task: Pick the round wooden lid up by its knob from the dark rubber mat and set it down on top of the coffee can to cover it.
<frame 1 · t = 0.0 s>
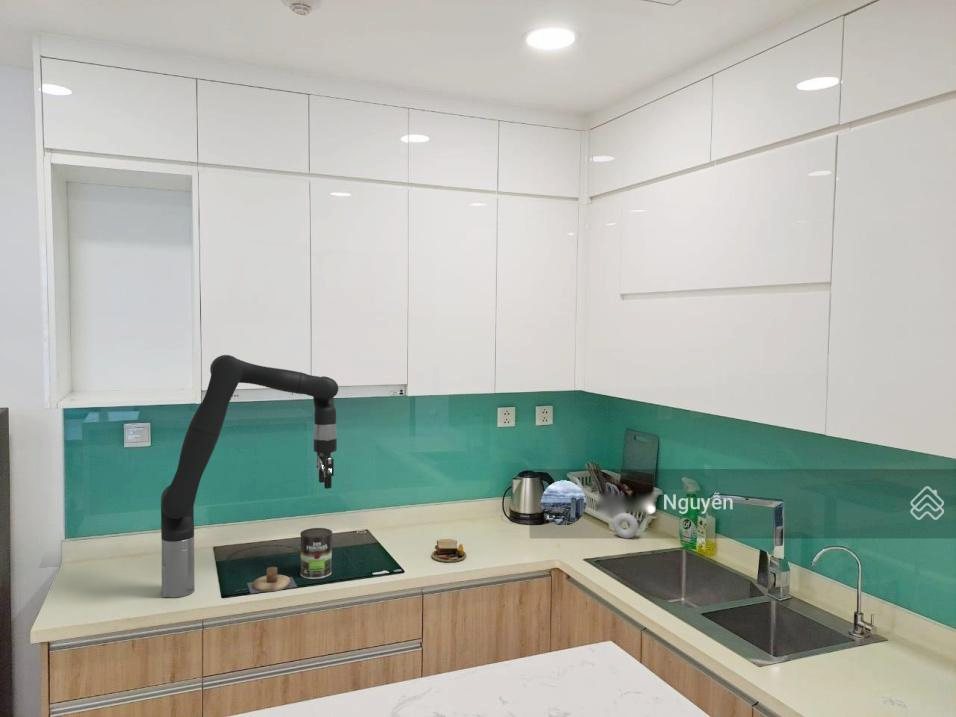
hand: (324, 485, 229), 29 cm above the countertop, tool pointing down, fingers open, 8 cm apart
toy sandwich meal: (447, 557, 248), on the countertop
mat: (271, 585, 218), on the countertop
coffee can: (316, 574, 229), on the countertop
donut: (625, 538, 273), on the countertop
lid: (271, 584, 218), resting on mat
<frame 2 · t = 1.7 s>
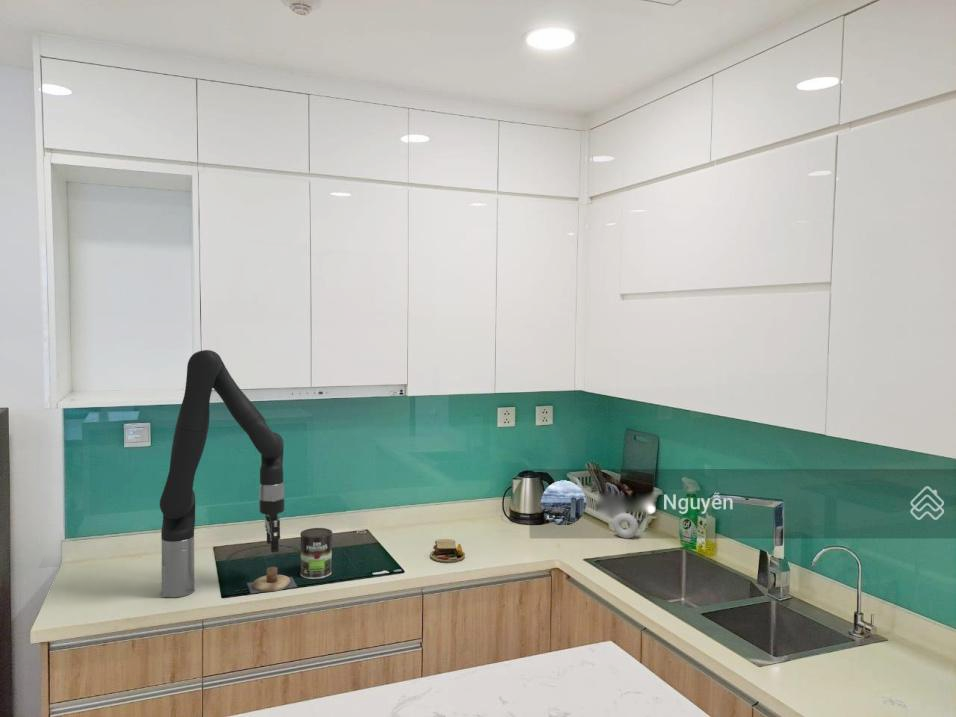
hand: (272, 547, 217), 12 cm above the countertop, tool pointing down, fingers open, 8 cm apart
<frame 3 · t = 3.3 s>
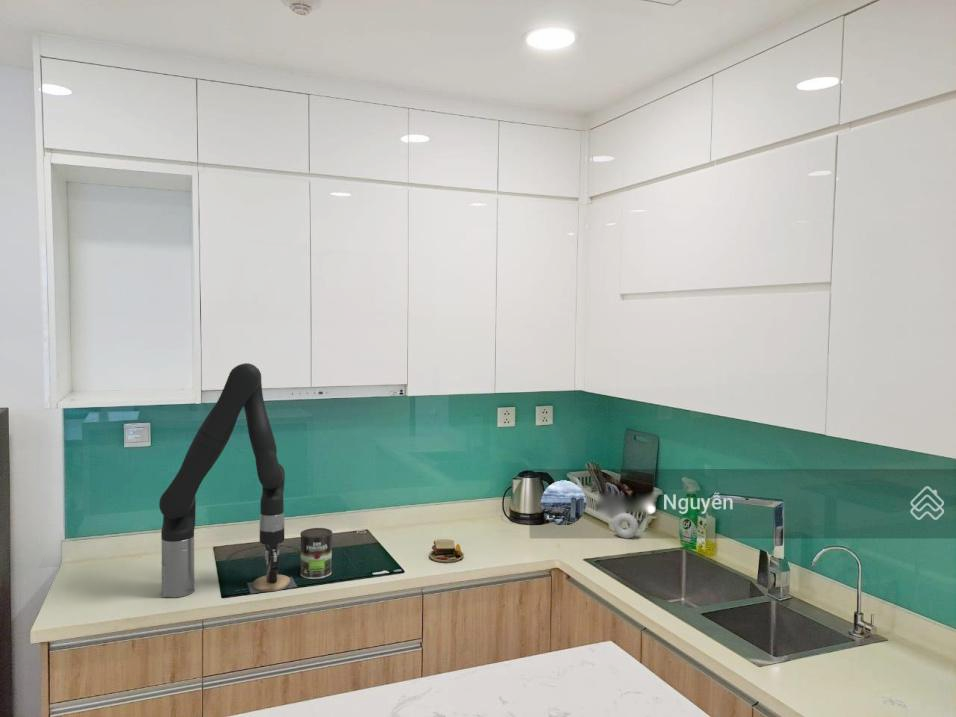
hand: (272, 580, 218), 2 cm above the countertop, tool pointing down, fingers closed on lid, 3 cm apart
lid: (271, 584, 218), resting on mat, touching gripper
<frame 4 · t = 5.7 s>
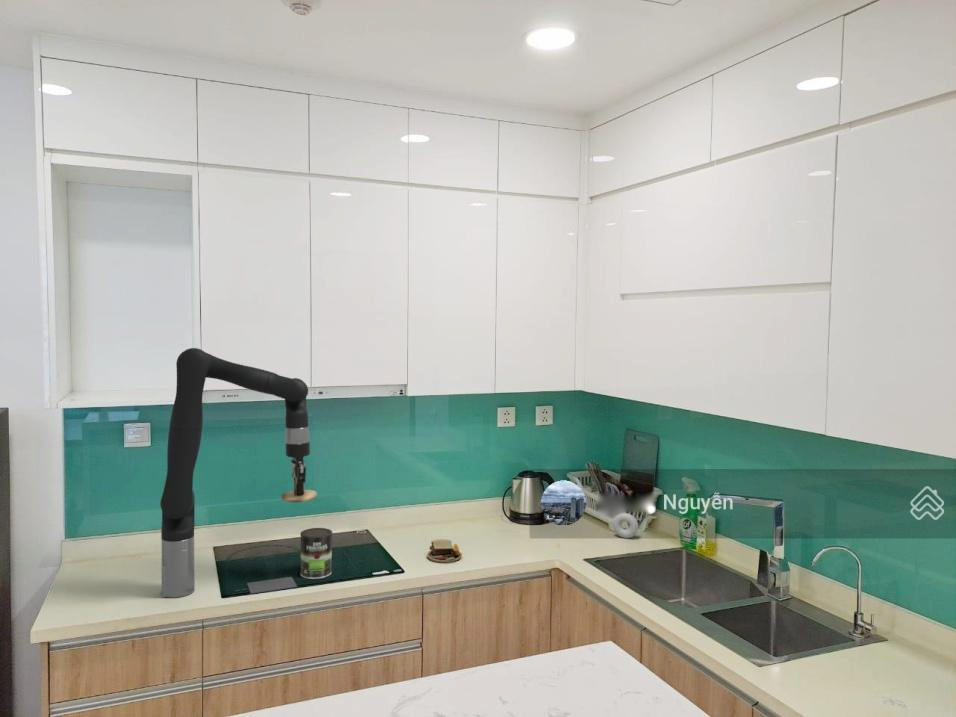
hand: (299, 493, 222), 28 cm above the countertop, tool pointing down, fingers closed on lid, 3 cm apart
lid: (299, 497, 222), point 27 cm above the countertop, touching gripper
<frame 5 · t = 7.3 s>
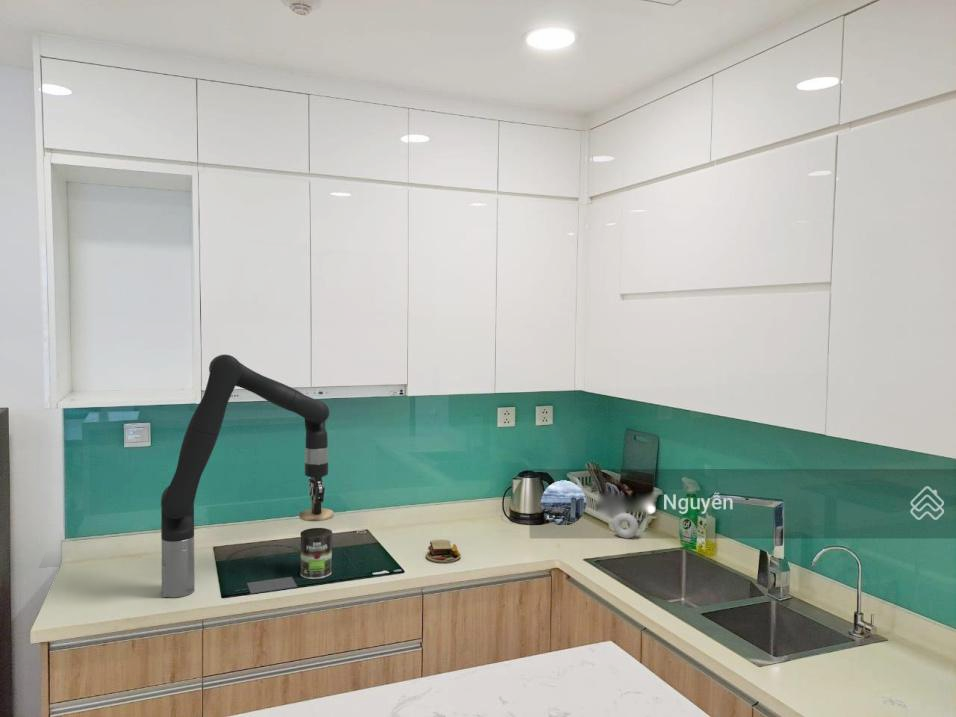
hand: (316, 512, 227), 21 cm above the countertop, tool pointing down, fingers closed on lid, 3 cm apart
lid: (316, 516, 228), point 19 cm above the countertop, touching gripper
when the fingers open (17 cm above the countertop, at t = 8.3 s): lid drops 1 cm, resting on coffee can.
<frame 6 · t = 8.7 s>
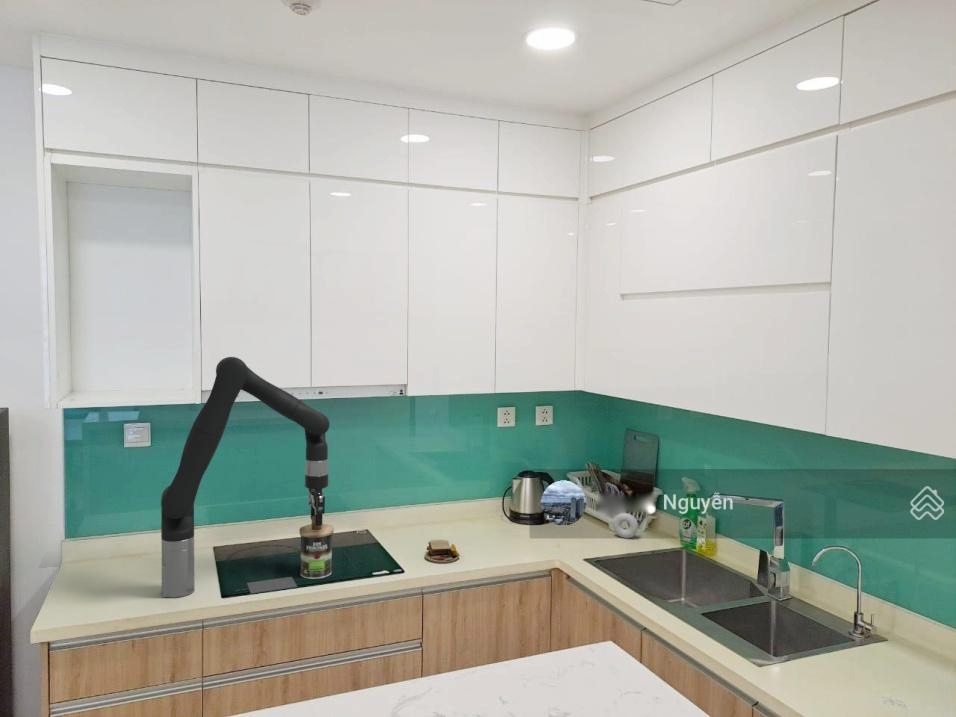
hand: (316, 522, 228), 17 cm above the countertop, tool pointing down, fingers open, 6 cm apart
coffee can: (316, 574, 229), on the countertop, touching lid
lid: (316, 532, 228), point 14 cm above the countertop, touching coffee can
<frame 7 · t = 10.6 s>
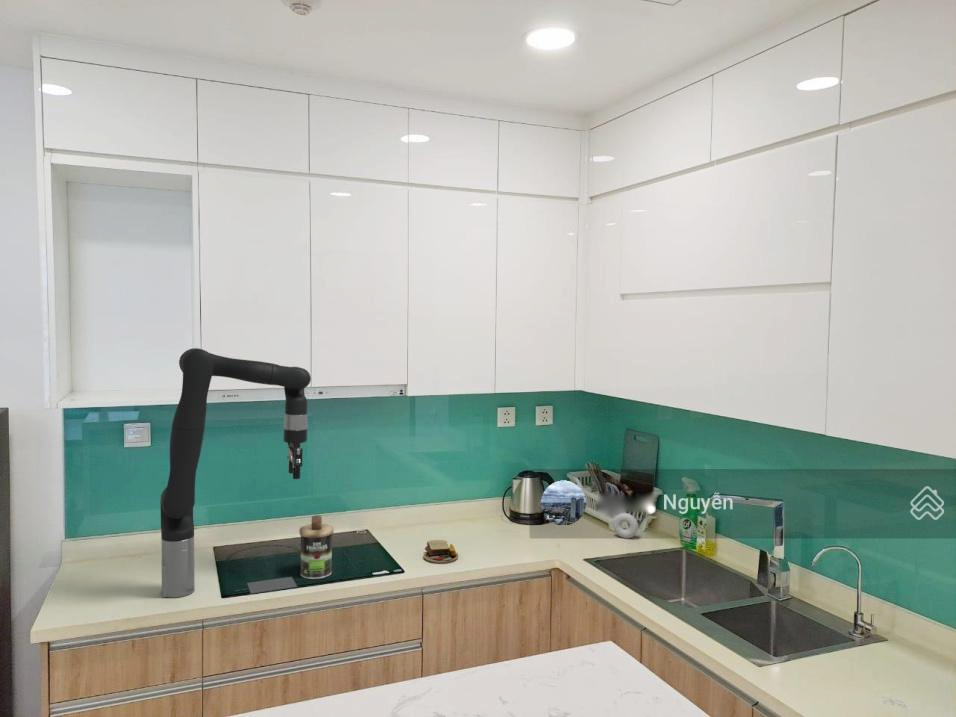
hand: (294, 476, 228), 32 cm above the countertop, tool pointing down, fingers open, 8 cm apart
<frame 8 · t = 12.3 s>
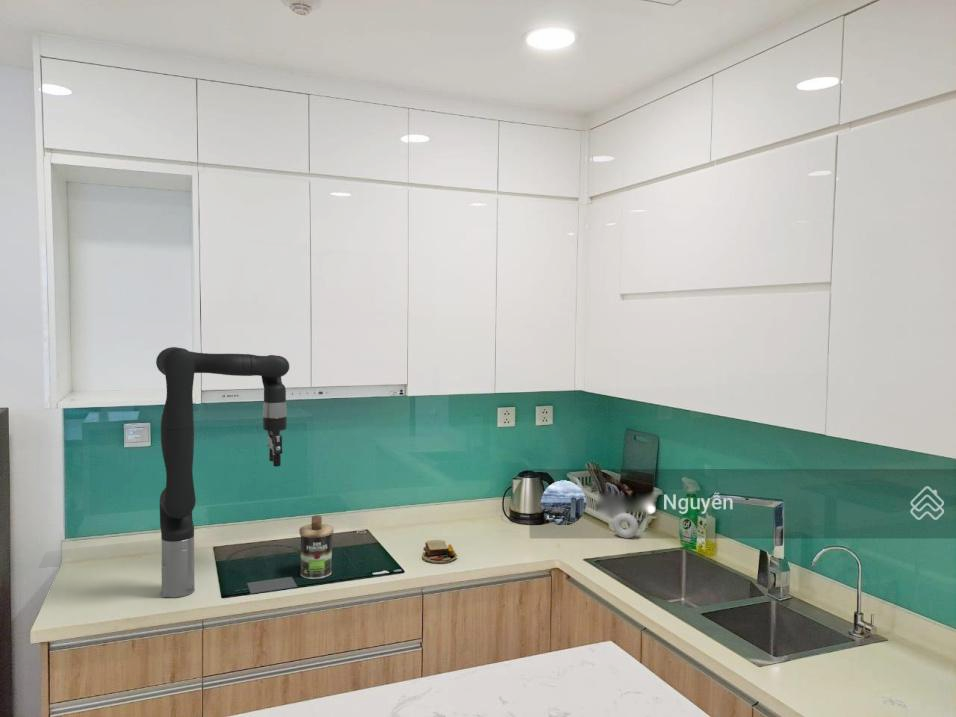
hand: (274, 463, 230), 36 cm above the countertop, tool pointing down, fingers open, 8 cm apart
at the end: lid 0.0 cm off-centre on the coffee can, point 14.3 cm above the coffee can's base; lid tilted 0°; the gripper is holding nothing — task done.
